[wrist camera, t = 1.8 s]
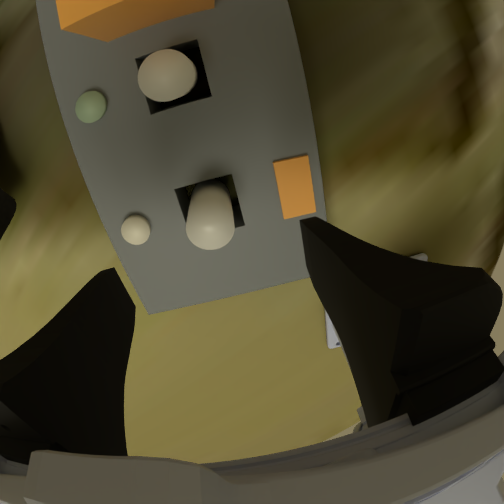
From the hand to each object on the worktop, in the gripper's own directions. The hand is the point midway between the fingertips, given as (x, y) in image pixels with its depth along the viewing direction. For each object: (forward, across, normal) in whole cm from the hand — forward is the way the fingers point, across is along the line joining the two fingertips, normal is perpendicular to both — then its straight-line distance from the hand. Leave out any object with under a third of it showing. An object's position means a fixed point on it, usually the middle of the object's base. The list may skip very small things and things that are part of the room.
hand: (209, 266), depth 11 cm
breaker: (+7, 0, -7) cm, 10 cm away
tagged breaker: (+7, 0, 0) cm, 7 cm away
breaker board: (+8, 0, -5) cm, 10 cm away
